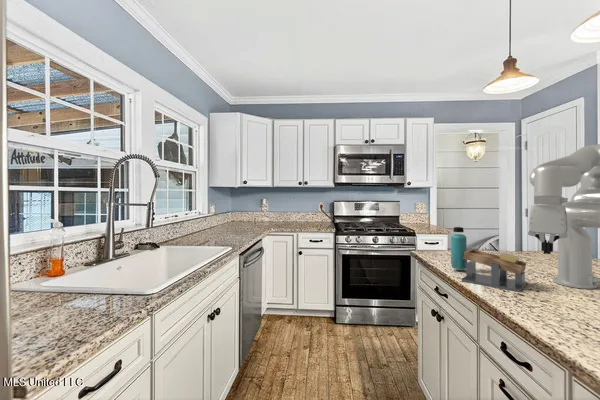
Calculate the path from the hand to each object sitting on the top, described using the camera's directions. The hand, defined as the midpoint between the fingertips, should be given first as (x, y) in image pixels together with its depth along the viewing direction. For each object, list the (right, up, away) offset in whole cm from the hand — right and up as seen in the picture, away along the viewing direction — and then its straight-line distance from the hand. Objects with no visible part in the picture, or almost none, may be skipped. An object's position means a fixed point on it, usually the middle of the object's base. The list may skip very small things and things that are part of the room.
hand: (547, 253), depth 103 cm
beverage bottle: (-14, -14, +31) cm, 37 cm away
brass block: (-7, -5, +9) cm, 13 cm away
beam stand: (-11, -14, +13) cm, 22 cm away
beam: (-11, -7, +13) cm, 18 cm away
